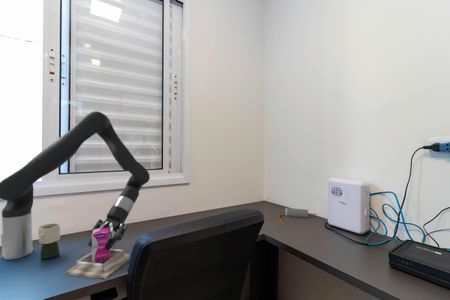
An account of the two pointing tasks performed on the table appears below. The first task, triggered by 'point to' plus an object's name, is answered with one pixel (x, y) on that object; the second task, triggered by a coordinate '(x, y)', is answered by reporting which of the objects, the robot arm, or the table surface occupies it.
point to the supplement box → (100, 245)
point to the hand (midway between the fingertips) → (98, 247)
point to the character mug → (49, 239)
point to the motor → (296, 213)
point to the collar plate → (99, 265)
